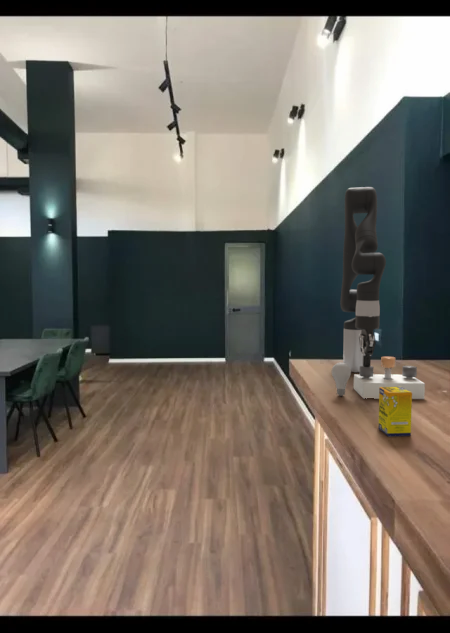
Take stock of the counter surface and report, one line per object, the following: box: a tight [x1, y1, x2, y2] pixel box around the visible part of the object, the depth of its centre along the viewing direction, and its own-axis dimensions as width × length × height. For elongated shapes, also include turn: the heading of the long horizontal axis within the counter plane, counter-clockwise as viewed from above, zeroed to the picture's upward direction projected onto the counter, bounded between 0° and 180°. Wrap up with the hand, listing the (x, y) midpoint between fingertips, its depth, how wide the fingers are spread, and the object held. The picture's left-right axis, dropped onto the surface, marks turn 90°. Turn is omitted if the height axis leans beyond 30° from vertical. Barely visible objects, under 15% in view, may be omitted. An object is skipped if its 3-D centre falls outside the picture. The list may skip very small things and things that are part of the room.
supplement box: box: [378, 387, 413, 438], centre depth 121 cm, size 6×6×11 cm
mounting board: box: [353, 373, 426, 400], centre depth 161 cm, size 14×19×5 cm
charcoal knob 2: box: [401, 365, 418, 380], centre depth 161 cm, size 4×4×8 cm
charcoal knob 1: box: [358, 365, 374, 379], centre depth 161 cm, size 4×4×8 cm
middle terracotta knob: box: [380, 356, 396, 380], centre depth 161 cm, size 4×4×8 cm
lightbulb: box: [331, 361, 352, 397], centre depth 158 cm, size 6×6×11 cm
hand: (366, 366), depth 161 cm, fingers closed
